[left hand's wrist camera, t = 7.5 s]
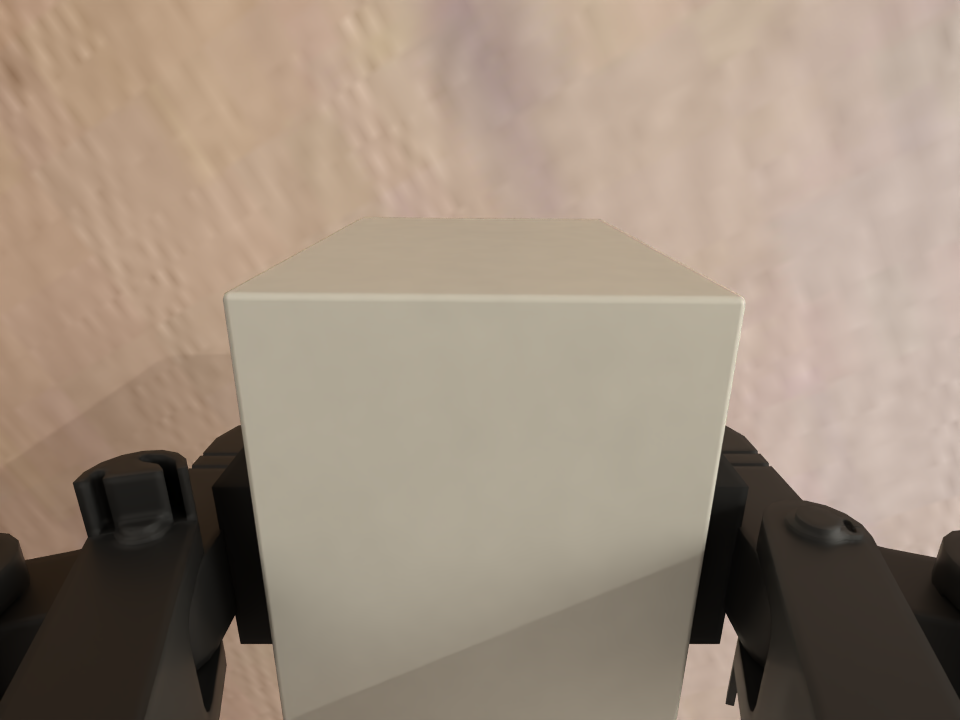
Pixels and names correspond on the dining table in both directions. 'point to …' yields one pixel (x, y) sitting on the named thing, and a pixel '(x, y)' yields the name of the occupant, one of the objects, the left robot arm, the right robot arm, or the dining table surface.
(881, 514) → the dining table surface
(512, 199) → the dining table surface
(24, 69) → the dining table surface
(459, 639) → the bar
